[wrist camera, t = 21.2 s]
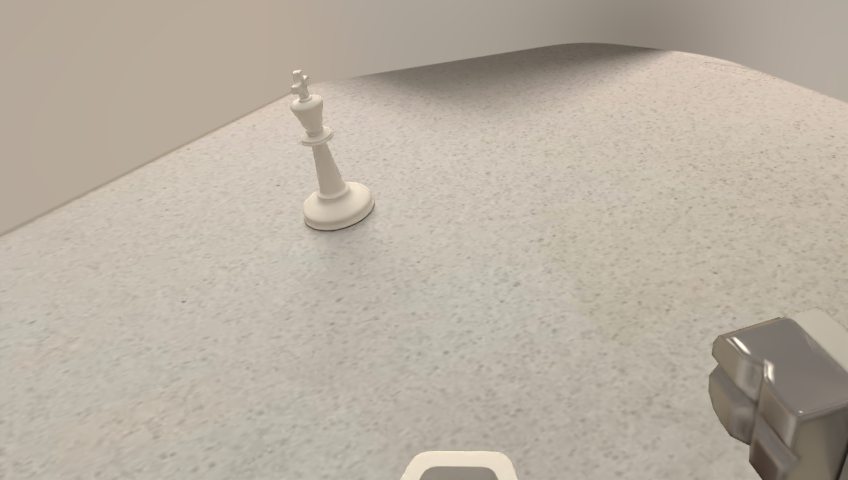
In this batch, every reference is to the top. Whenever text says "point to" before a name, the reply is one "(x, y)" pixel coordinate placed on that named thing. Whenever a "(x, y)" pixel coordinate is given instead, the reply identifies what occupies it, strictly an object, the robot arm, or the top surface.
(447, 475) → the white faceted vase
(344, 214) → the chess piece
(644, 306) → the top surface
